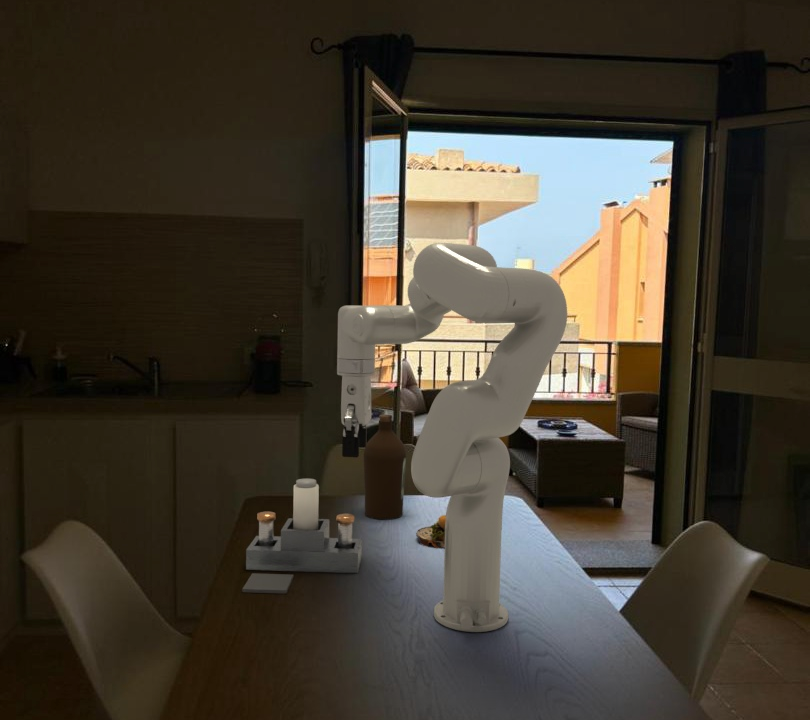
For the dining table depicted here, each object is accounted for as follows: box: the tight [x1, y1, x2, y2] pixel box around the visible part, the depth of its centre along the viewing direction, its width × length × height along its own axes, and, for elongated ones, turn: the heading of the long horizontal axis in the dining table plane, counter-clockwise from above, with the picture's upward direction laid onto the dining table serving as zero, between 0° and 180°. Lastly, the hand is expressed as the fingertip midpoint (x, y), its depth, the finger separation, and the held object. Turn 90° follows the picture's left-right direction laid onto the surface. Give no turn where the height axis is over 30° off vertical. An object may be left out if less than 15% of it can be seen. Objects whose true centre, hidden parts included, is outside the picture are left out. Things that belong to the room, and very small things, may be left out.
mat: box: [241, 572, 295, 595], centre depth 143 cm, size 8×8×1 cm
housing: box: [245, 517, 363, 574], centre depth 155 cm, size 22×9×8 cm, turn 89°
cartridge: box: [292, 478, 320, 530], centre depth 154 cm, size 5×5×13 cm
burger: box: [415, 514, 446, 549], centre depth 172 cm, size 12×12×8 cm
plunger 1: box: [256, 511, 276, 546], centre depth 155 cm, size 4×4×8 cm
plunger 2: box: [335, 513, 355, 549], centre depth 154 cm, size 4×4×8 cm
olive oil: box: [363, 413, 407, 520], centre depth 191 cm, size 11×11×25 cm
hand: (354, 451), depth 155 cm, fingers open, 9 cm apart
